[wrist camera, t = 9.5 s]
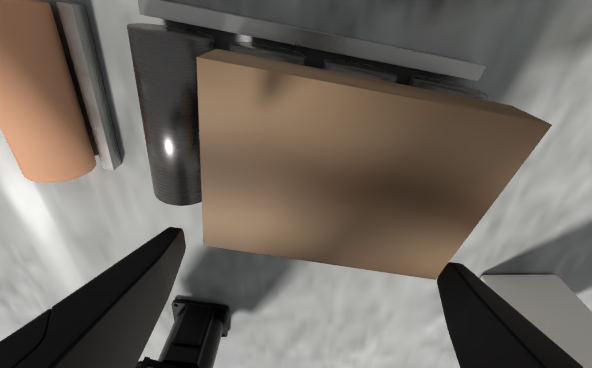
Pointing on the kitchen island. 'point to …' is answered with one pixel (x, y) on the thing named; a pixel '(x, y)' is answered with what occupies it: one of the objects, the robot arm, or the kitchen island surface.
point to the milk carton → (549, 310)
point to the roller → (40, 96)
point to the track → (184, 90)
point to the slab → (348, 164)
